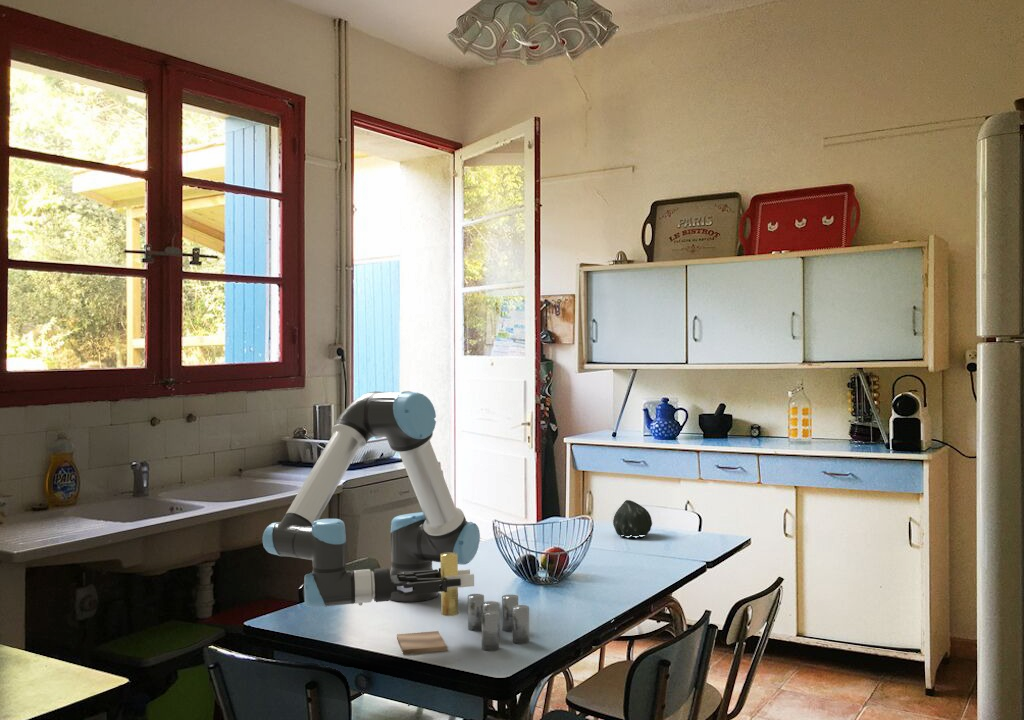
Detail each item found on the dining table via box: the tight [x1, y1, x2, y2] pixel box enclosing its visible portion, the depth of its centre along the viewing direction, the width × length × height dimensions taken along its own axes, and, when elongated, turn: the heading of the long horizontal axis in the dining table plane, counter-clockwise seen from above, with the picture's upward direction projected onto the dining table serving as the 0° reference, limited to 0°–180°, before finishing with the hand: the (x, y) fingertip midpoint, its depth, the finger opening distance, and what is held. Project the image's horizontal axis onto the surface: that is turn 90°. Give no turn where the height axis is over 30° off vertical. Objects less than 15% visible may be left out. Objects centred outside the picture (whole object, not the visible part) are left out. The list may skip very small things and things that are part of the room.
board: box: [396, 630, 448, 655], centre depth 204 cm, size 12×10×1 cm
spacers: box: [467, 593, 530, 652], centre depth 210 cm, size 20×12×8 cm, turn 14°
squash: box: [612, 499, 653, 536], centre depth 333 cm, size 14×15×15 cm
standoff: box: [440, 552, 459, 617], centre depth 207 cm, size 4×4×14 cm
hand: (471, 577), depth 208 cm, fingers closed on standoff, 4 cm apart
